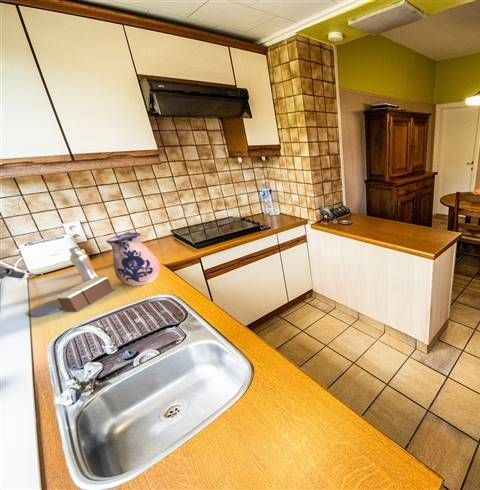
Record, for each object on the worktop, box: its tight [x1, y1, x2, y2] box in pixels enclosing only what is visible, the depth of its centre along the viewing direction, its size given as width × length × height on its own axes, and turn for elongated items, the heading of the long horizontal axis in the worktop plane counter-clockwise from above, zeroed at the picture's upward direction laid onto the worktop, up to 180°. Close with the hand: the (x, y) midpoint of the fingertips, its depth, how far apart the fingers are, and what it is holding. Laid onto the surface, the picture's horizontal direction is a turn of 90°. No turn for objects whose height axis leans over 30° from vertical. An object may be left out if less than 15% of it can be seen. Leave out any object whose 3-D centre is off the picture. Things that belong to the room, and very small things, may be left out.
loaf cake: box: [69, 276, 114, 305], centre depth 124 cm, size 11×6×8 cm, turn 175°
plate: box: [29, 298, 64, 318], centre depth 119 cm, size 13×13×1 cm
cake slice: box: [55, 289, 90, 313], centre depth 116 cm, size 5×6×8 cm
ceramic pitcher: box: [106, 231, 162, 287], centre depth 134 cm, size 18×21×25 cm
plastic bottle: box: [68, 246, 101, 283], centre depth 135 cm, size 6×7×20 cm
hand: (13, 275), depth 98 cm, fingers open, 8 cm apart
